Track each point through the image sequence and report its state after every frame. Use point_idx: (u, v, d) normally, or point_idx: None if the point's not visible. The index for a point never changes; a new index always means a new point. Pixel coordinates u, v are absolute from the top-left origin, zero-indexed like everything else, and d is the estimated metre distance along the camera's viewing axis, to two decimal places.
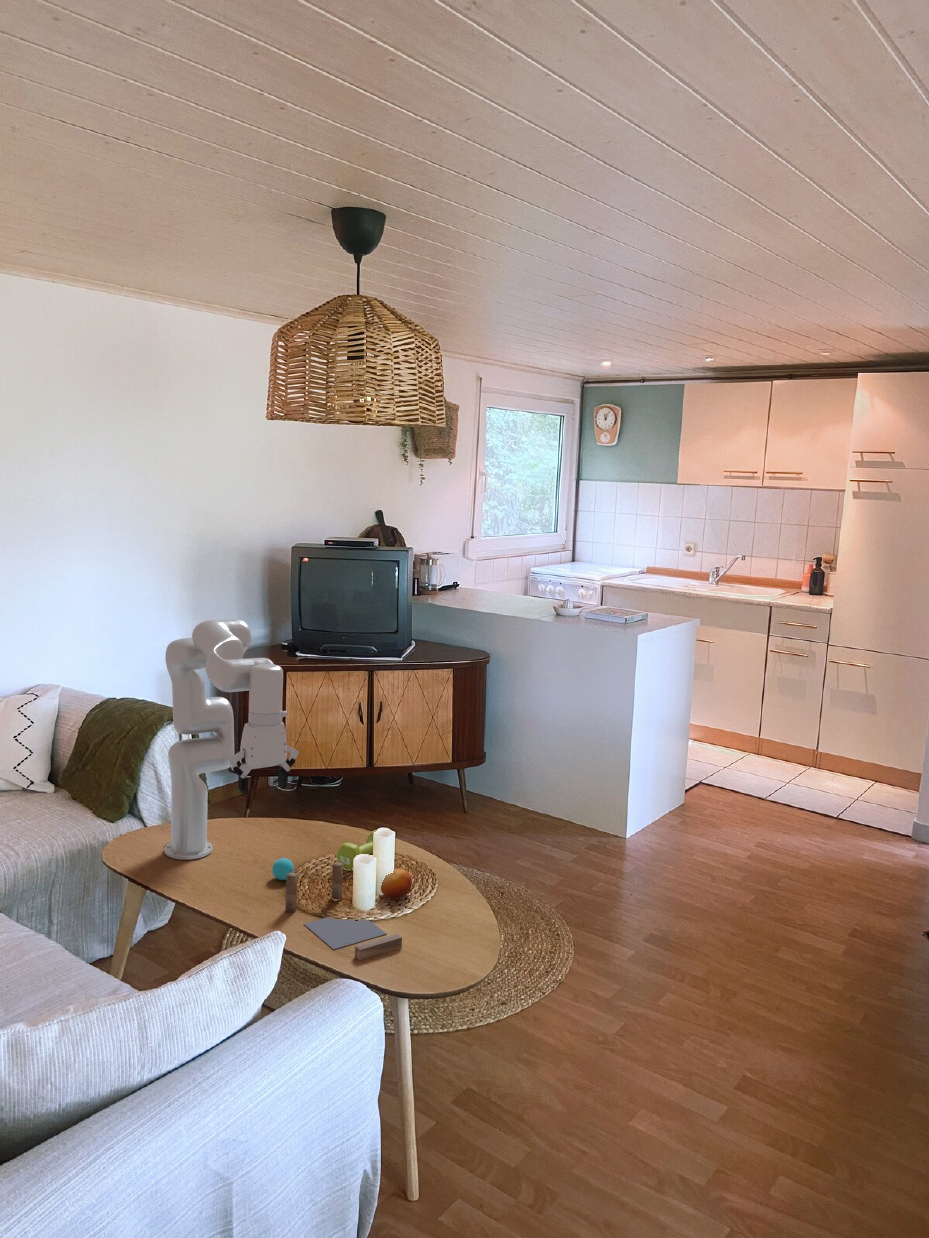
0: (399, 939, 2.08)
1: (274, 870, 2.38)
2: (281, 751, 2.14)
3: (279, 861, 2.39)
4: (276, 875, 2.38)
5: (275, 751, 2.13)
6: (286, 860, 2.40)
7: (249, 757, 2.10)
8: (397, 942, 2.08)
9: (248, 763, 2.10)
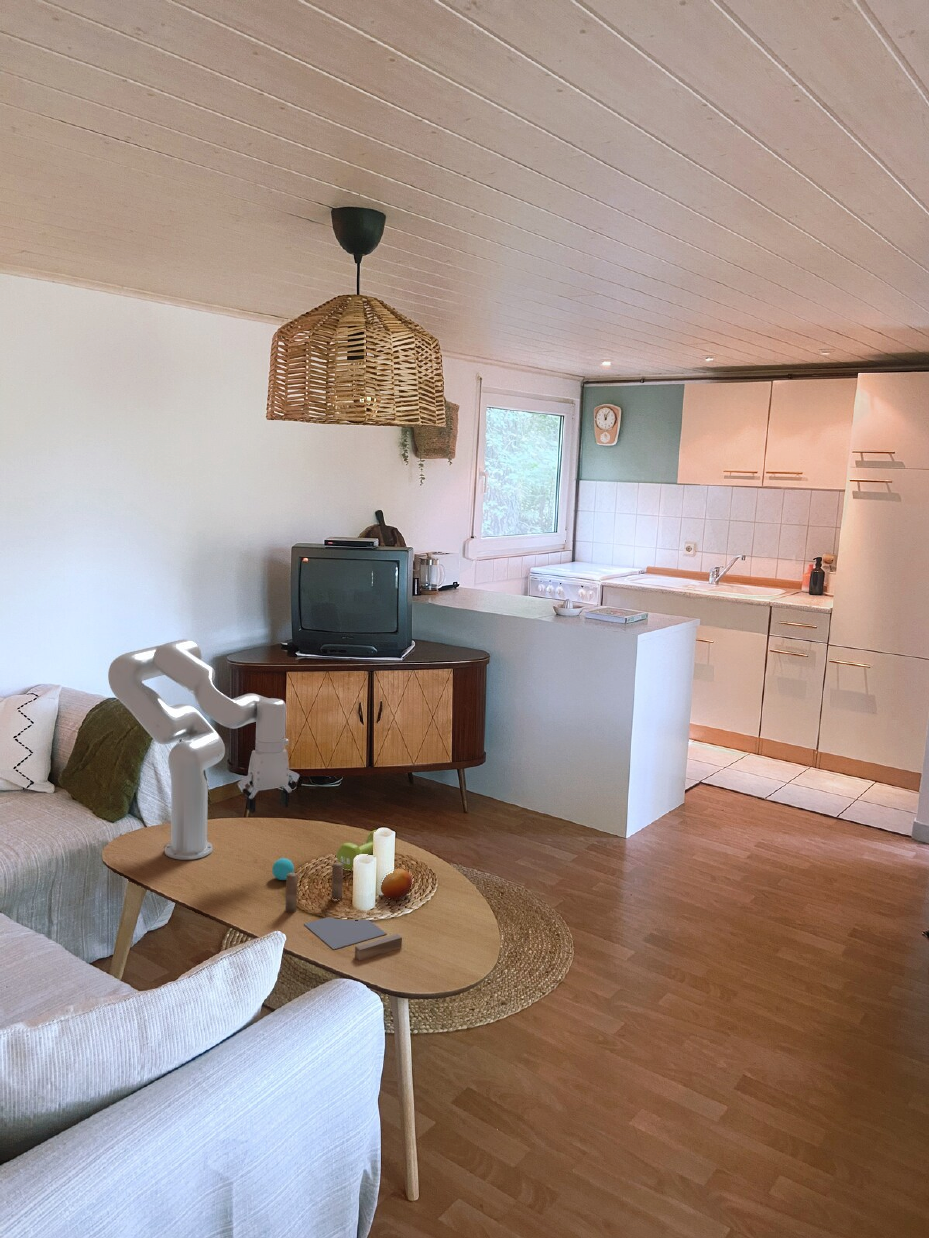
0: (399, 939, 2.08)
1: (274, 870, 2.38)
2: (284, 774, 2.44)
3: (279, 861, 2.39)
4: (276, 875, 2.38)
5: (278, 774, 2.43)
6: (286, 860, 2.40)
7: (256, 780, 2.40)
8: (397, 942, 2.08)
9: (255, 785, 2.40)
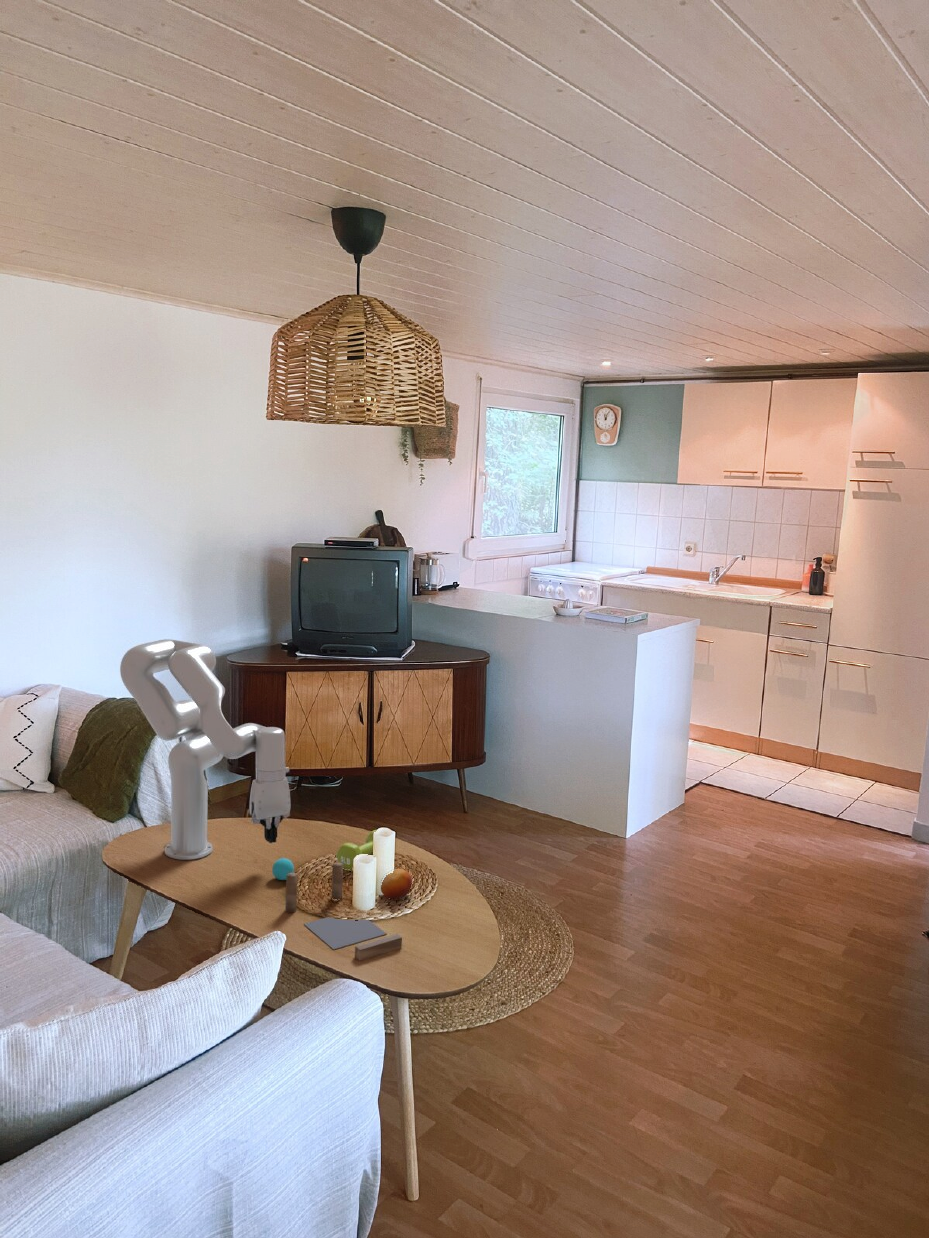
0: (399, 939, 2.08)
1: (274, 870, 2.38)
2: (285, 802, 2.46)
3: (279, 861, 2.39)
4: (276, 875, 2.38)
5: (280, 803, 2.44)
6: (286, 860, 2.40)
7: (257, 809, 2.41)
8: (397, 942, 2.08)
9: (257, 815, 2.41)
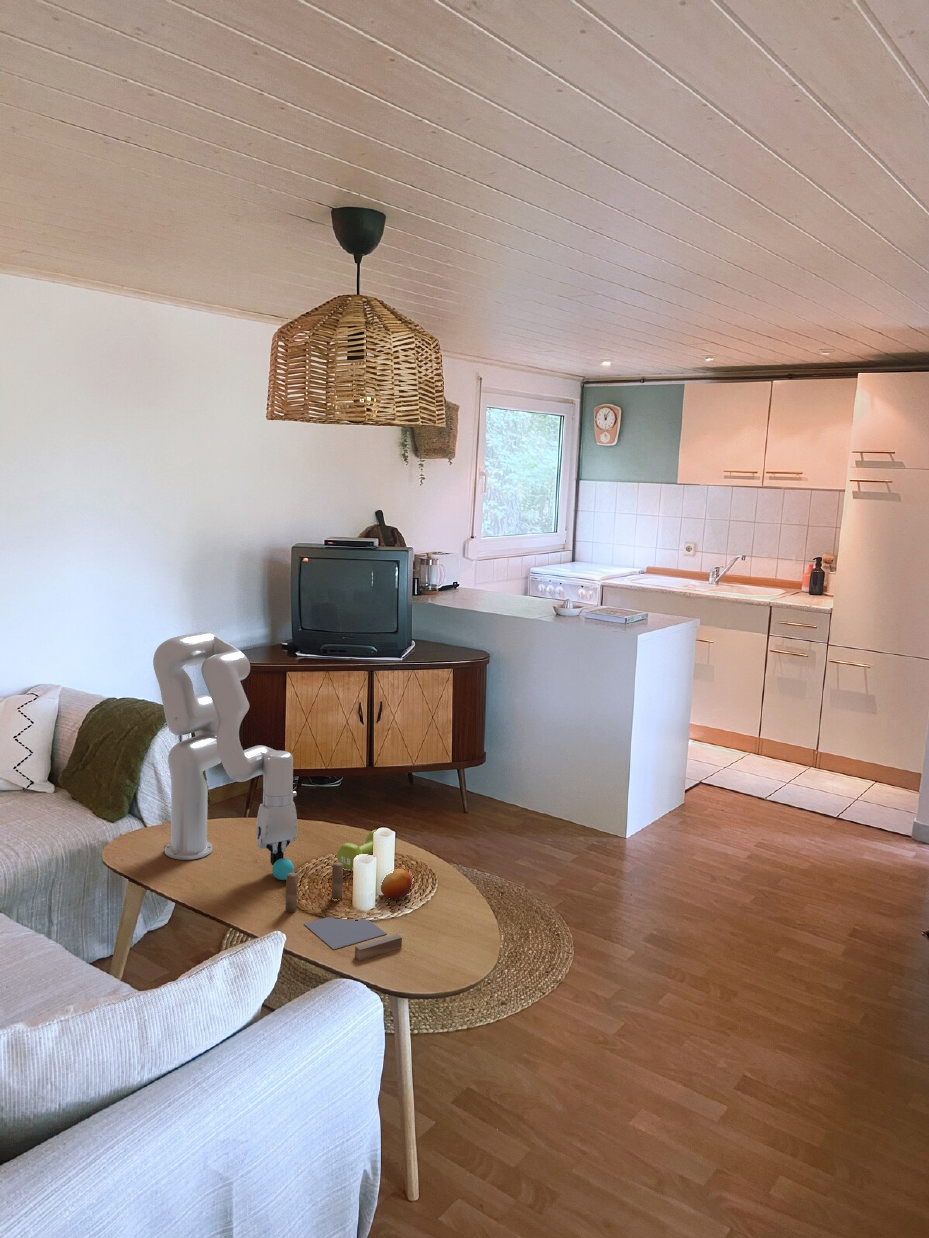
0: (399, 939, 2.08)
1: (274, 870, 2.38)
2: (292, 827, 2.43)
3: (279, 861, 2.39)
4: (276, 875, 2.38)
5: (287, 827, 2.42)
6: (286, 860, 2.40)
7: (265, 834, 2.38)
8: (397, 942, 2.08)
9: (264, 839, 2.38)
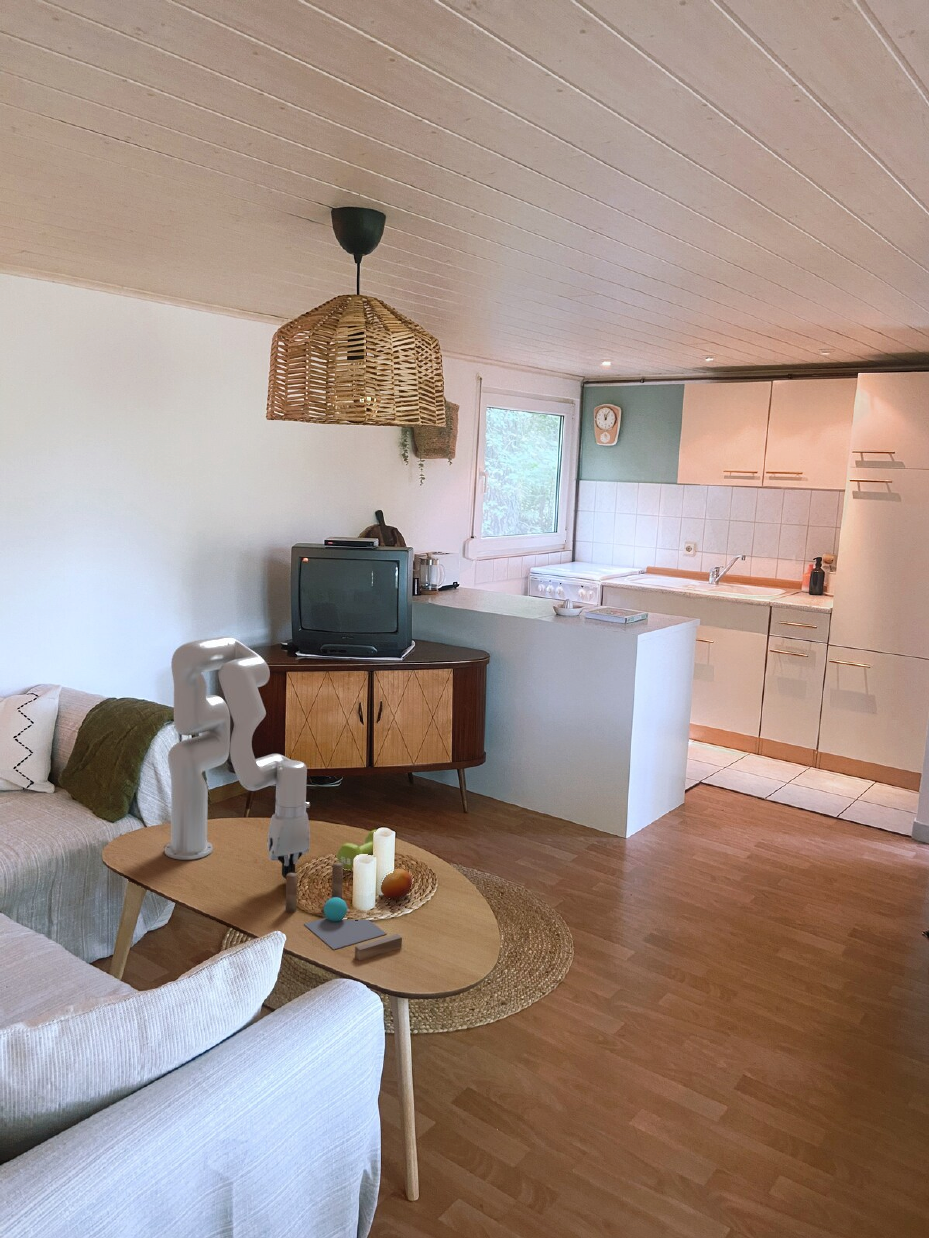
0: (399, 939, 2.08)
1: (324, 912, 2.18)
2: (305, 839, 2.37)
3: None
4: (324, 906, 2.19)
5: (299, 839, 2.36)
6: None
7: (276, 846, 2.32)
8: (397, 942, 2.08)
9: (275, 851, 2.32)
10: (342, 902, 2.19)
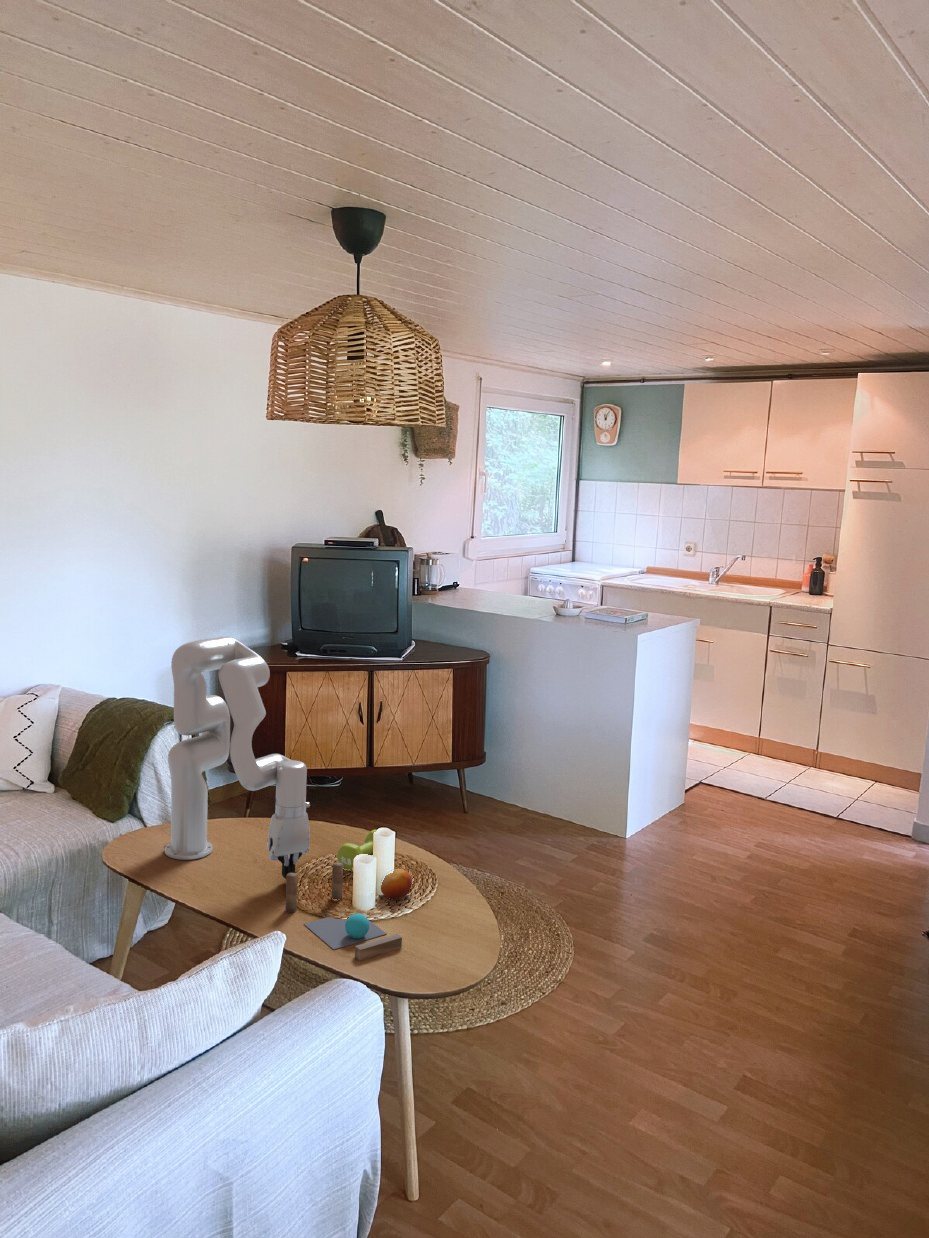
0: (399, 939, 2.08)
1: (348, 929, 2.10)
2: (305, 839, 2.37)
3: (356, 921, 2.10)
4: (349, 934, 2.10)
5: (299, 839, 2.36)
6: (363, 920, 2.10)
7: (276, 846, 2.32)
8: (397, 942, 2.08)
9: (275, 851, 2.32)
10: None
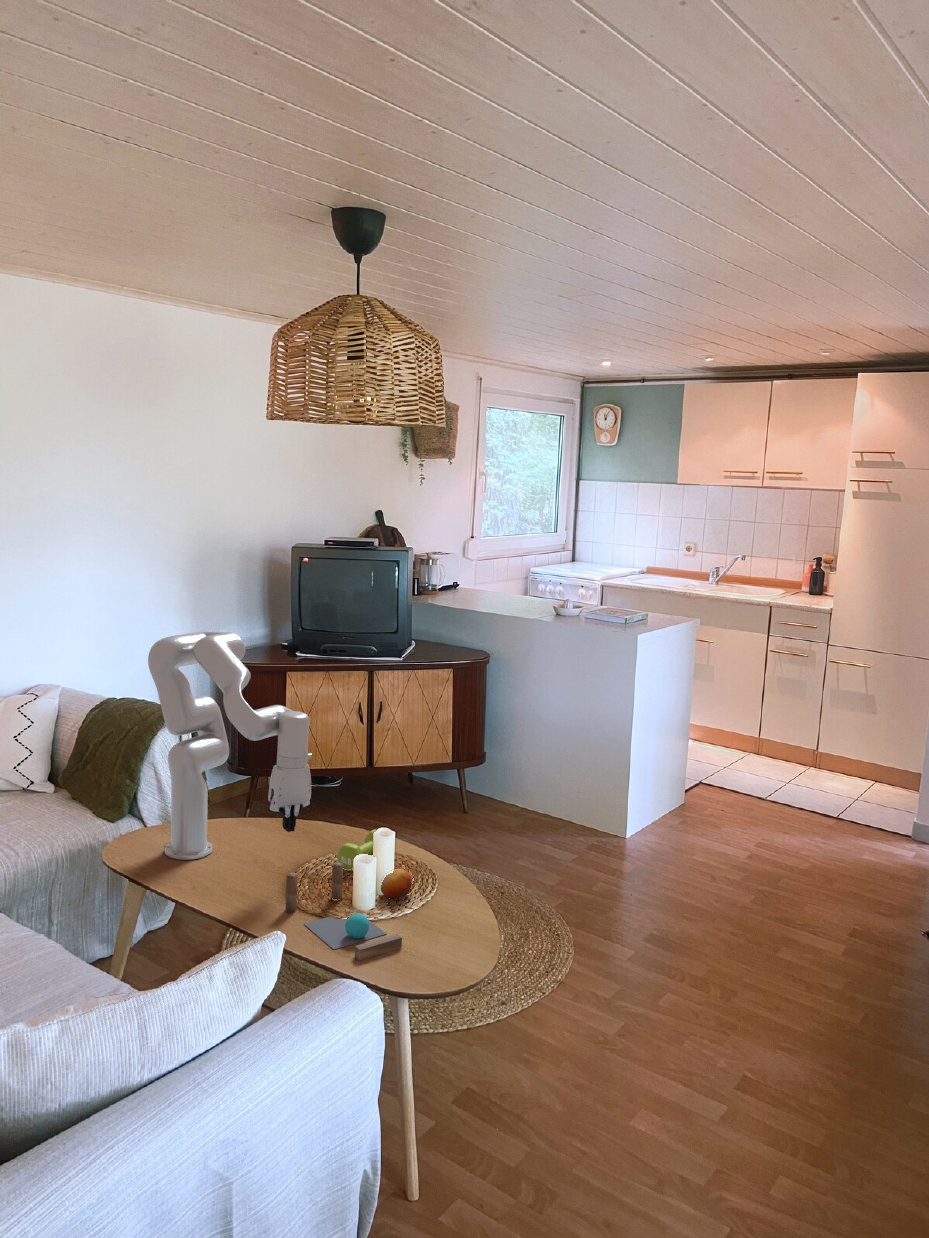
0: (399, 939, 2.08)
1: (348, 929, 2.10)
2: (306, 791, 2.35)
3: (356, 921, 2.10)
4: (349, 934, 2.10)
5: (300, 790, 2.34)
6: (363, 920, 2.10)
7: (277, 797, 2.31)
8: (397, 942, 2.08)
9: (276, 802, 2.31)
10: None
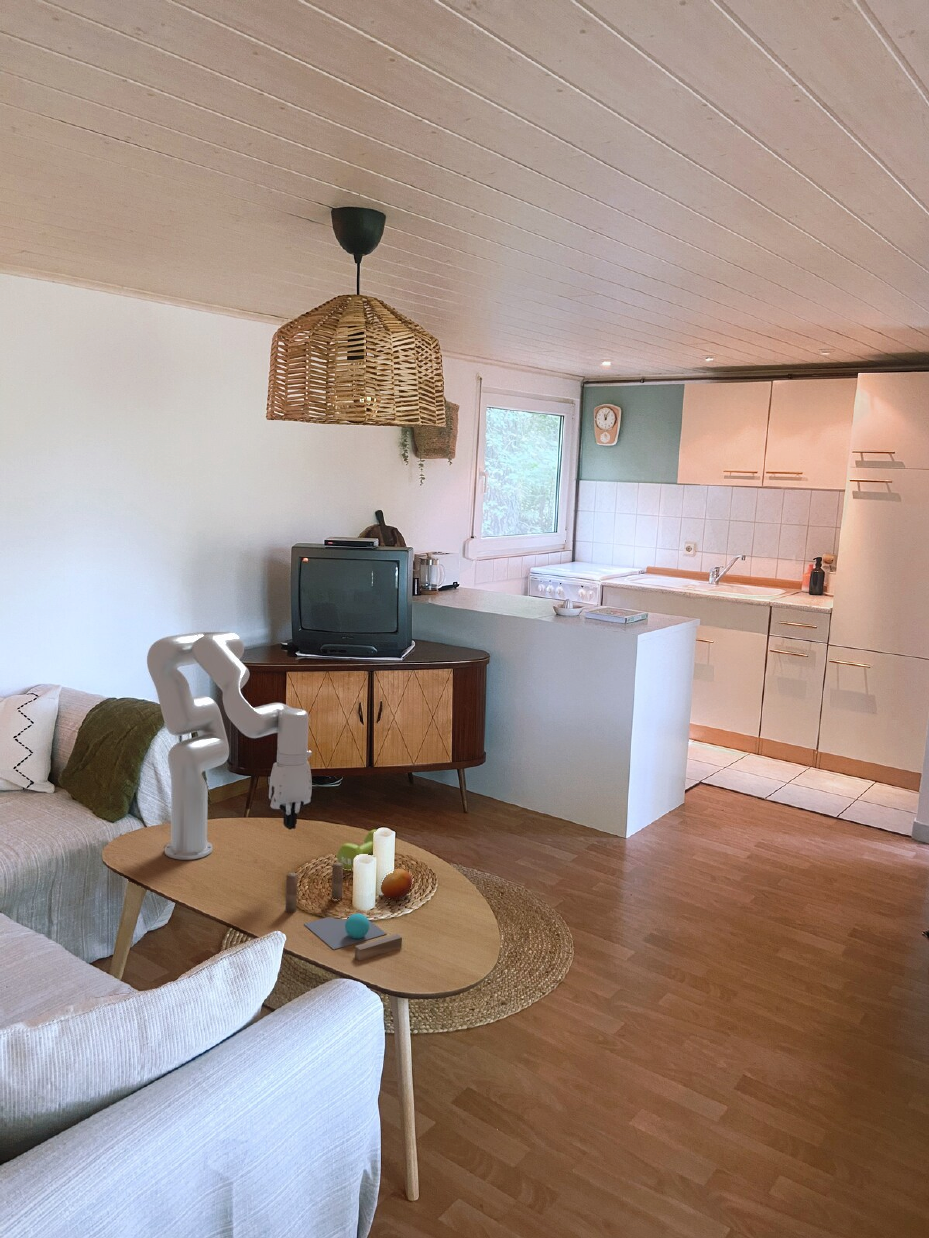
0: (399, 939, 2.08)
1: (348, 929, 2.10)
2: (306, 788, 2.35)
3: (356, 921, 2.10)
4: (349, 934, 2.10)
5: (301, 788, 2.34)
6: (363, 920, 2.10)
7: (278, 794, 2.30)
8: (397, 942, 2.08)
9: (277, 799, 2.31)
10: None
